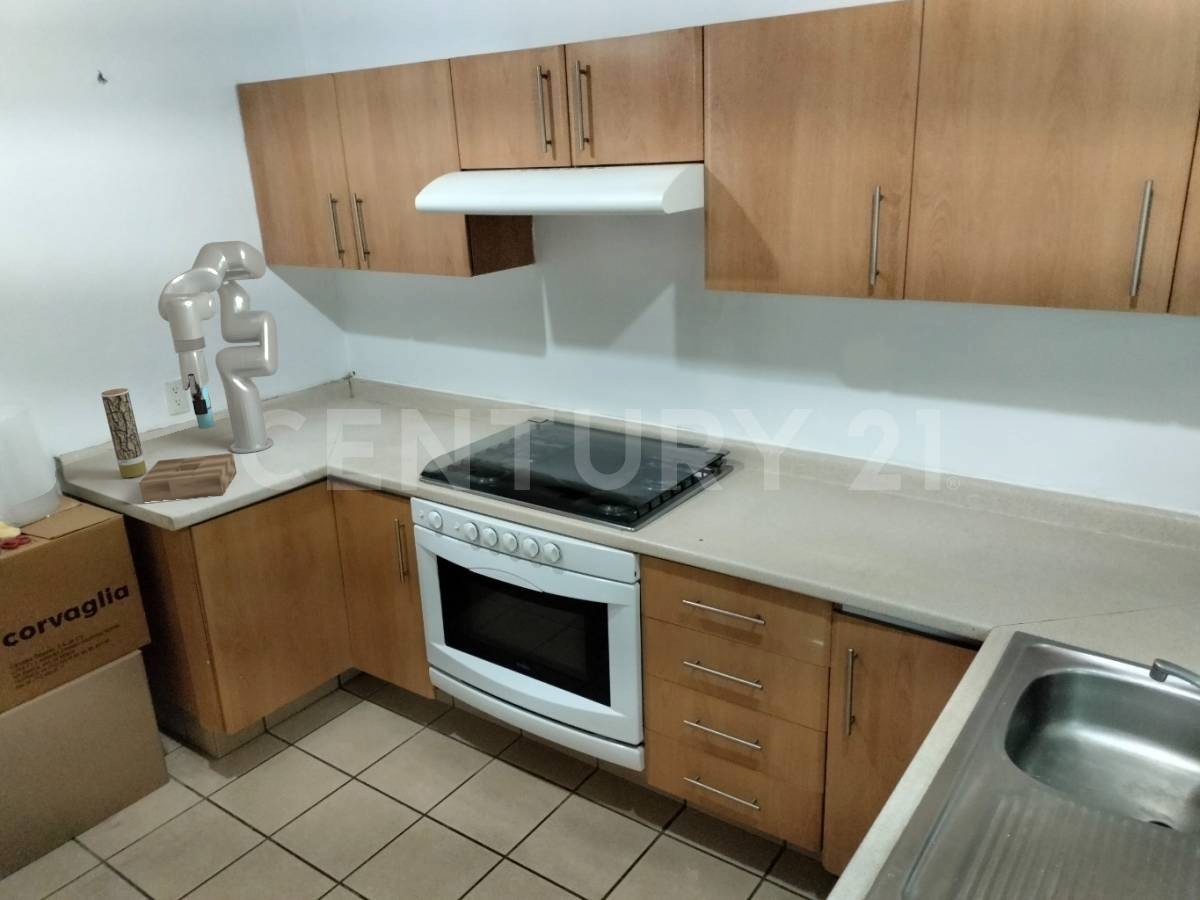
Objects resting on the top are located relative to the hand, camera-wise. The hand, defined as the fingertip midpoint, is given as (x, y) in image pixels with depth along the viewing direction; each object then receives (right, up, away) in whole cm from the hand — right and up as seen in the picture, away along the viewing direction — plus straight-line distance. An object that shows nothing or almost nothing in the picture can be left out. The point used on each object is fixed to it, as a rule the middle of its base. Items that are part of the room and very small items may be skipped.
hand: (203, 411), depth 242 cm
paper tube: (-28, -18, +19) cm, 38 cm away
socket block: (-6, -21, +6) cm, 22 cm away
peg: (0, -4, +1) cm, 4 cm away
